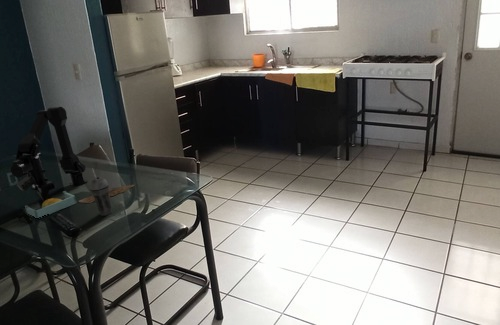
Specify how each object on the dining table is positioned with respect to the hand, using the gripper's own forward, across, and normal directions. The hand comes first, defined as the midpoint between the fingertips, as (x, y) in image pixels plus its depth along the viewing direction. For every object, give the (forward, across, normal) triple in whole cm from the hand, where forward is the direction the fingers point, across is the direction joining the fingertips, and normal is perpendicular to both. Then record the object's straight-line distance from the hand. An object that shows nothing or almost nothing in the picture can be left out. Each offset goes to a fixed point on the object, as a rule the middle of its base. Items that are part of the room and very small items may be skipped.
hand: (45, 201), depth 182 cm
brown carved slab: (+2, +15, +22) cm, 27 cm away
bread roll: (+2, +5, +1) cm, 6 cm away
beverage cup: (+2, +35, +10) cm, 36 cm away
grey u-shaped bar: (+2, +7, 0) cm, 7 cm away
